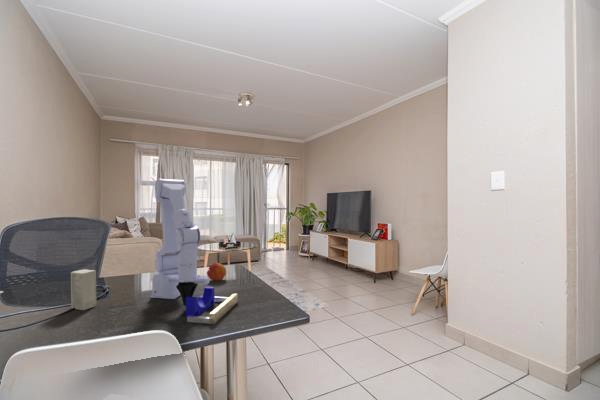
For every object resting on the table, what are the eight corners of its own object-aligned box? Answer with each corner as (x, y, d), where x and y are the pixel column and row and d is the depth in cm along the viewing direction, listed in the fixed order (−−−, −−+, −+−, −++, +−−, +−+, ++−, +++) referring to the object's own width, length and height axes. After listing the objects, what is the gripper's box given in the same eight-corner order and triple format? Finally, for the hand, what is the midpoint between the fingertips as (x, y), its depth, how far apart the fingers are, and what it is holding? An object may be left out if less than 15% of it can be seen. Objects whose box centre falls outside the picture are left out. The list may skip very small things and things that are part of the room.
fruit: (209, 278, 129) (209, 260, 129) (227, 277, 130) (227, 260, 130) (205, 283, 121) (205, 264, 121) (224, 282, 122) (224, 264, 122)
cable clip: (202, 303, 98) (202, 286, 98) (214, 304, 97) (214, 287, 97) (181, 317, 86) (181, 297, 86) (194, 318, 85) (194, 298, 85)
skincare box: (96, 306, 94) (97, 270, 94) (82, 311, 90) (83, 273, 90) (84, 303, 96) (84, 268, 96) (69, 308, 92) (70, 271, 92)
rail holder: (187, 321, 82) (187, 311, 82) (215, 300, 100) (215, 292, 100) (214, 324, 81) (214, 313, 81) (237, 302, 99) (237, 293, 99)
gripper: (159, 265, 89) (159, 307, 89) (201, 267, 87) (201, 310, 87) (173, 260, 96) (172, 299, 96) (212, 262, 94) (212, 302, 94)
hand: (187, 304), depth 92 cm, fingers closed
